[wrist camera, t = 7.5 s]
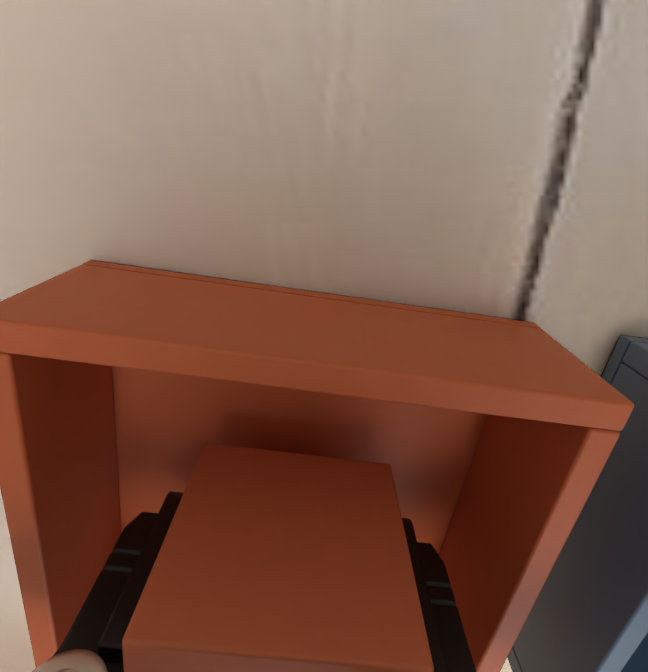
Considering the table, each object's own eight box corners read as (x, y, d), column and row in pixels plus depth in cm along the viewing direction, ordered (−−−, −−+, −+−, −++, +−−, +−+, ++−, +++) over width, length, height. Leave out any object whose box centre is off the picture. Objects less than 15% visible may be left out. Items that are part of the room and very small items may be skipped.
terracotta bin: (89, 259, 10) (-37, 315, 7) (534, 322, 11) (637, 404, 7) (112, 577, 15) (43, 715, 11) (429, 609, 15) (461, 749, 12)
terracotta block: (203, 440, 10) (119, 642, 6) (391, 463, 10) (436, 671, 6) (198, 573, 12) (130, 800, 8) (358, 589, 12) (376, 817, 8)
